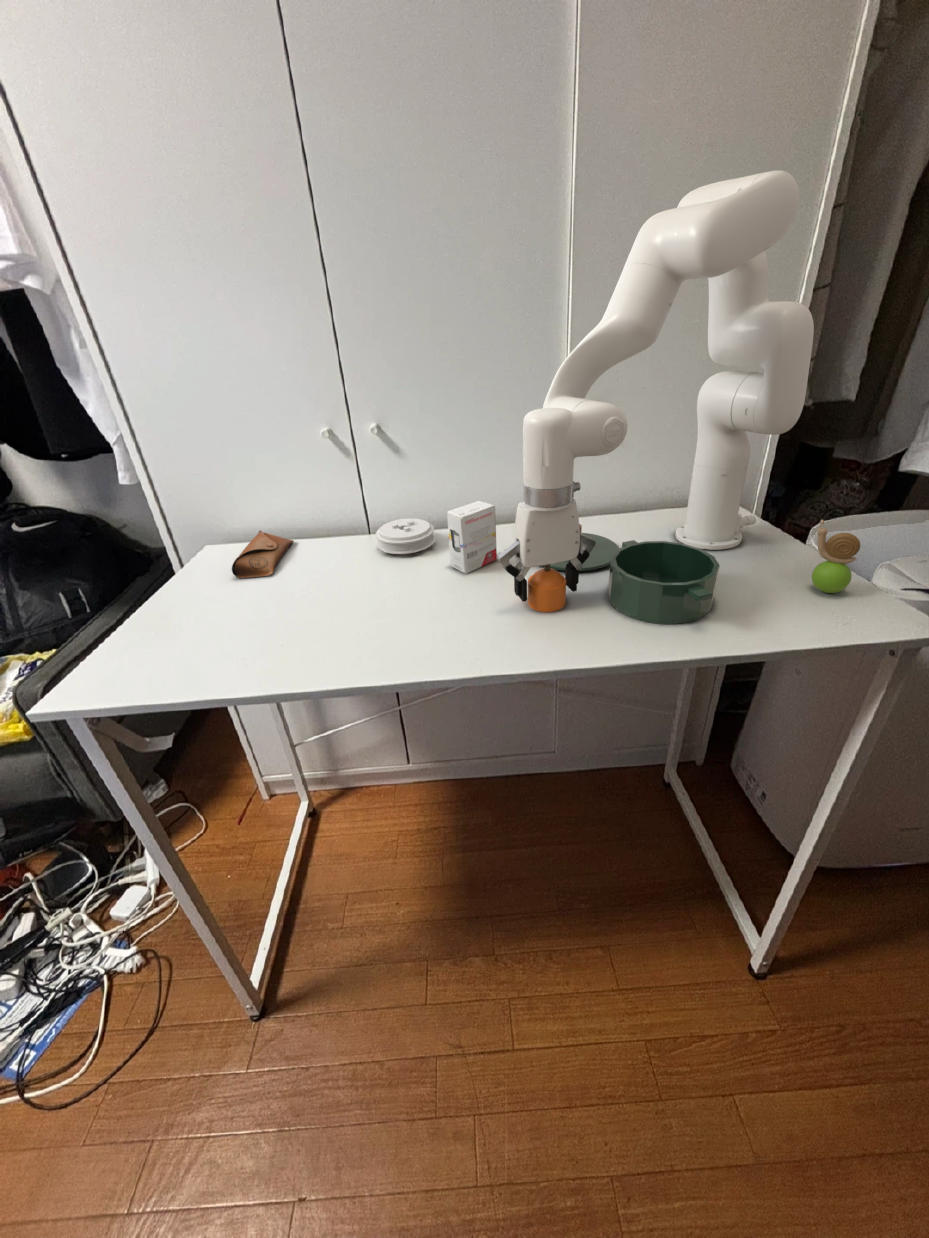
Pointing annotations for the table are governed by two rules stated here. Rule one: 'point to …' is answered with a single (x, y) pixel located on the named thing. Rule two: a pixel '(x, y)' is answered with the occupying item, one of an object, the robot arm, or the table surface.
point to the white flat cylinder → (405, 536)
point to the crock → (662, 581)
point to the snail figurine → (834, 560)
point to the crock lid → (593, 554)
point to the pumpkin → (546, 590)
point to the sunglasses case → (261, 556)
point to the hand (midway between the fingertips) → (546, 592)
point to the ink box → (472, 536)
